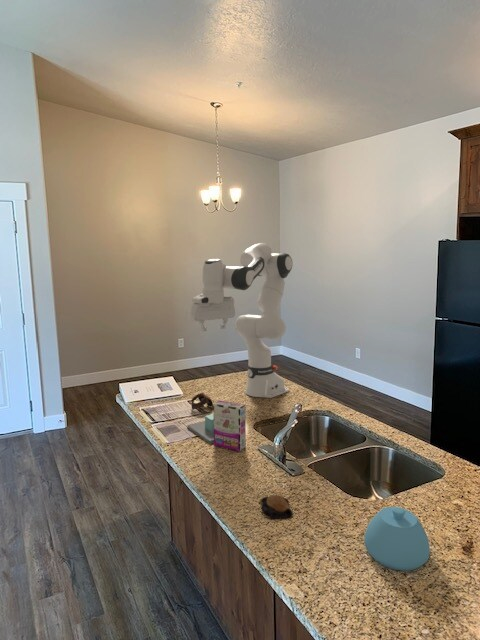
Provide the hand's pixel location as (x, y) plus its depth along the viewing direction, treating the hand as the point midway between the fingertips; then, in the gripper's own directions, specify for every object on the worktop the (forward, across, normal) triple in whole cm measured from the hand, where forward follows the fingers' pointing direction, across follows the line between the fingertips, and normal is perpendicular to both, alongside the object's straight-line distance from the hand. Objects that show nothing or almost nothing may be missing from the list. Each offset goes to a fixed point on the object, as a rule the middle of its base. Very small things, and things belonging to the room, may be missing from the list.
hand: (213, 329), depth 198 cm
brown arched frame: (+38, +2, -7) cm, 38 cm away
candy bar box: (+37, +13, +33) cm, 51 cm away
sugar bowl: (+38, +11, +105) cm, 112 cm away
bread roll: (+38, +23, +74) cm, 86 cm away
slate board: (+37, +11, +18) cm, 43 cm away
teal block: (+36, +11, +18) cm, 42 cm away
